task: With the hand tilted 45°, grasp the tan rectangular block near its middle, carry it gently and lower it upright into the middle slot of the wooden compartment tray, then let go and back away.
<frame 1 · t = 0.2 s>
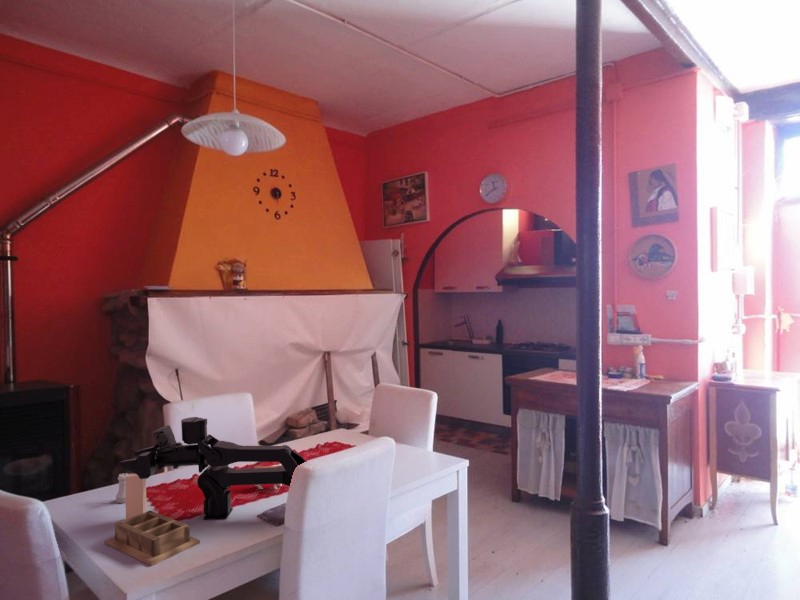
hand: (127, 458, 147), 17 cm above the table, tool horizontal, fingers open, 9 cm apart
rook chess piece: (123, 501, 159), on the table
wooden compartment tray: (152, 543, 132), on the table
tan rectangular block: (136, 519, 146), on the table
bull figurine: (271, 488, 169), on the table
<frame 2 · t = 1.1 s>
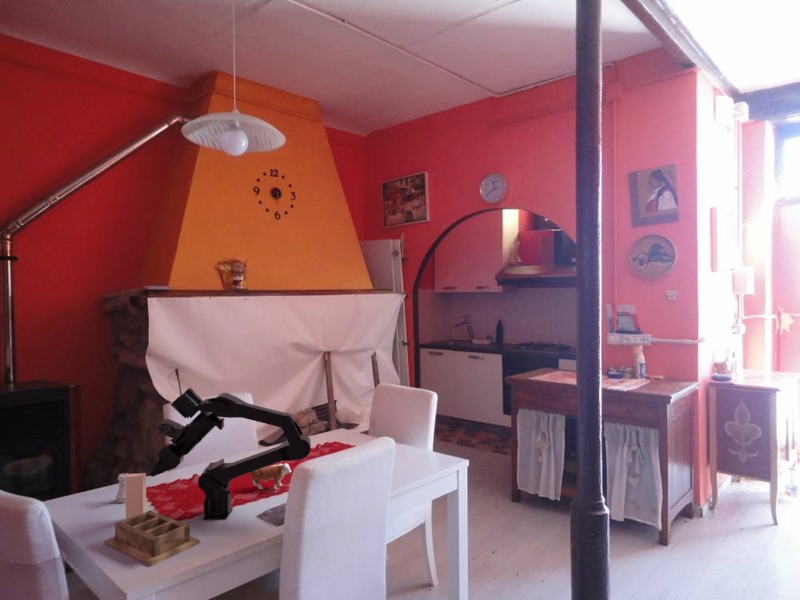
hand: (156, 469, 146), 14 cm above the table, tool tilted 45°, fingers open, 9 cm apart
nothing on the table moved.
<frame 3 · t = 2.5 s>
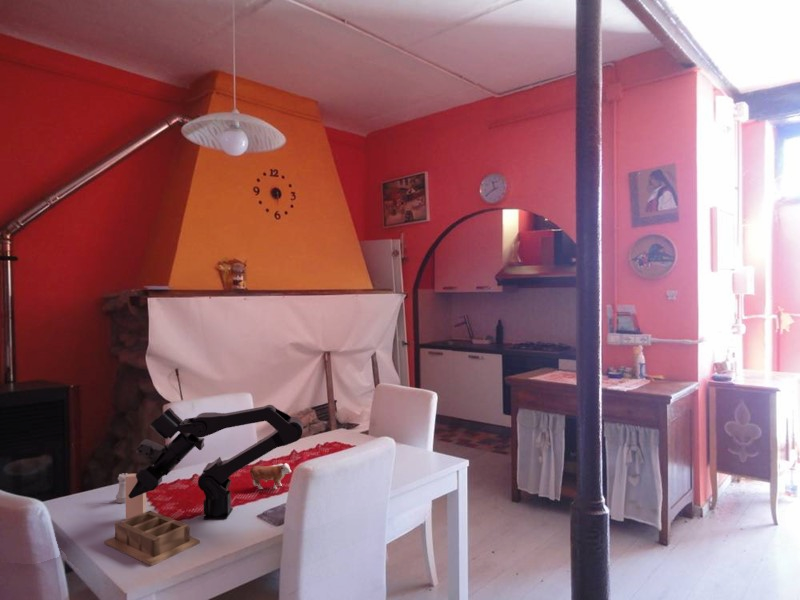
hand: (135, 490, 146), 8 cm above the table, tool tilted 45°, fingers open, 9 cm apart
nothing on the table moved.
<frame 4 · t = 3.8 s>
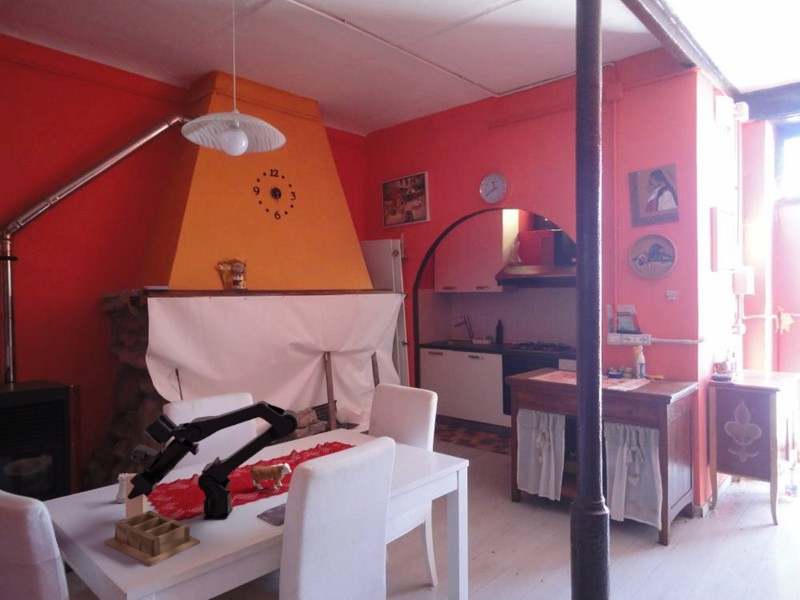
hand: (130, 496, 145), 7 cm above the table, tool tilted 45°, fingers closed on tan rectangular block, 2 cm apart
tan rectangular block: (136, 519, 146), on the table, touching gripper
everything else where it was.
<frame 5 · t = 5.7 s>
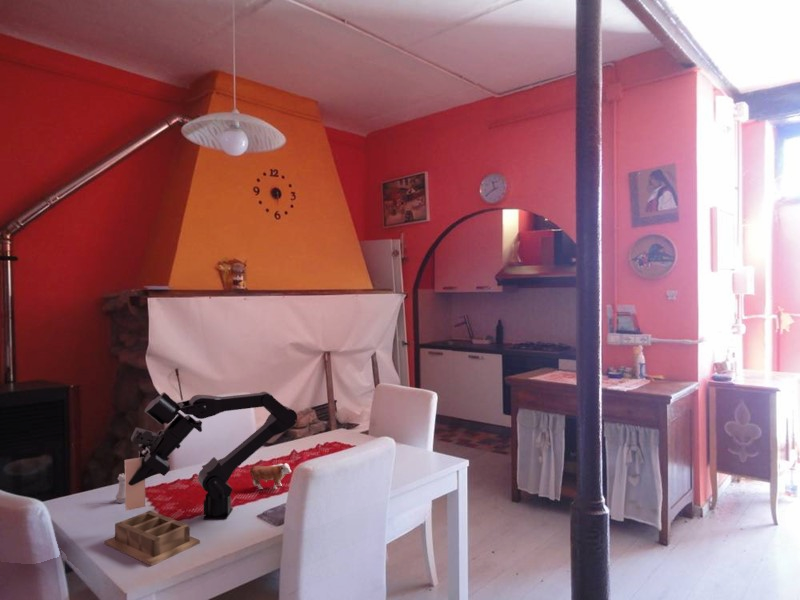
hand: (129, 483, 137), 13 cm above the table, tool tilted 45°, fingers closed on tan rectangular block, 2 cm apart
tan rectangular block: (135, 506, 138), point 7 cm above the table, touching gripper
everything else where it was.
when the fingers open (8 cm above the table, at t = 7.8 s): tan rectangular block drops 1 cm, resting on wooden compartment tray.
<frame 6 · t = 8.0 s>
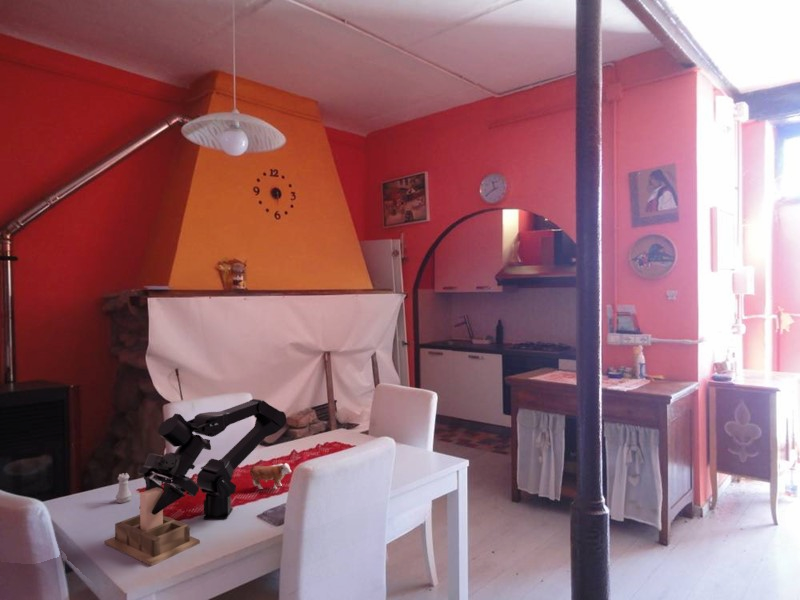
hand: (146, 511, 130), 9 cm above the table, tool tilted 45°, fingers open, 5 cm apart
tan rectangular block: (152, 540, 132), point 1 cm above the table, touching wooden compartment tray
everything else where it was.
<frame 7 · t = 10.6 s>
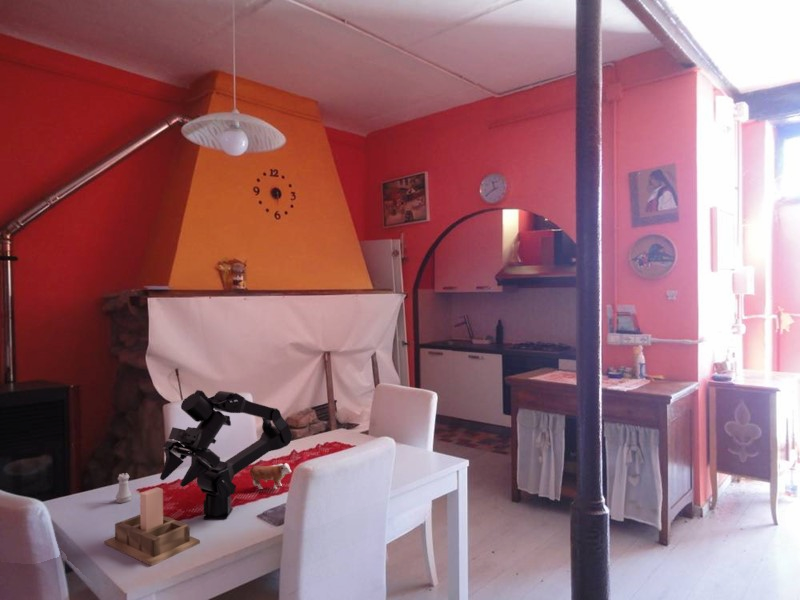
hand: (171, 482, 136), 14 cm above the table, tool tilted 45°, fingers open, 9 cm apart
nothing on the table moved.
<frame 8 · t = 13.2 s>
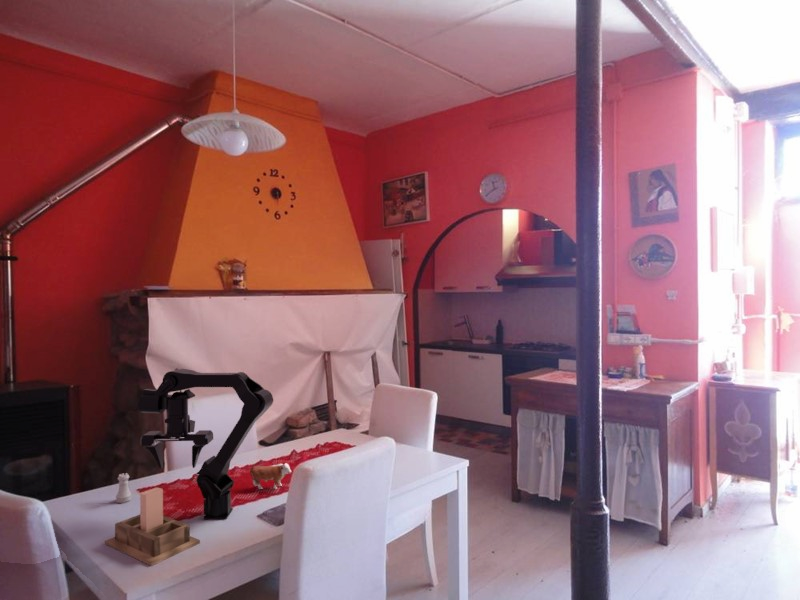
hand: (177, 467, 150), 13 cm above the table, tool pointing down, fingers open, 9 cm apart
nothing on the table moved.
at the end: tan rectangular block 0.0 cm off-centre on the wooden compartment tray, point 0.8 cm above the wooden compartment tray's base; tan rectangular block tilted 0°; the gripper is holding nothing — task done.
